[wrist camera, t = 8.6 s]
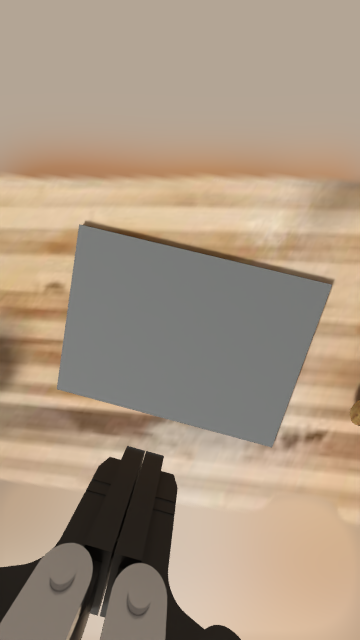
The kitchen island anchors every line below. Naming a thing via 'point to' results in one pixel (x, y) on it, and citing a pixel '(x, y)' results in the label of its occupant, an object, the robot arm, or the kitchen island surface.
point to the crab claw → (355, 413)
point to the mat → (186, 334)
